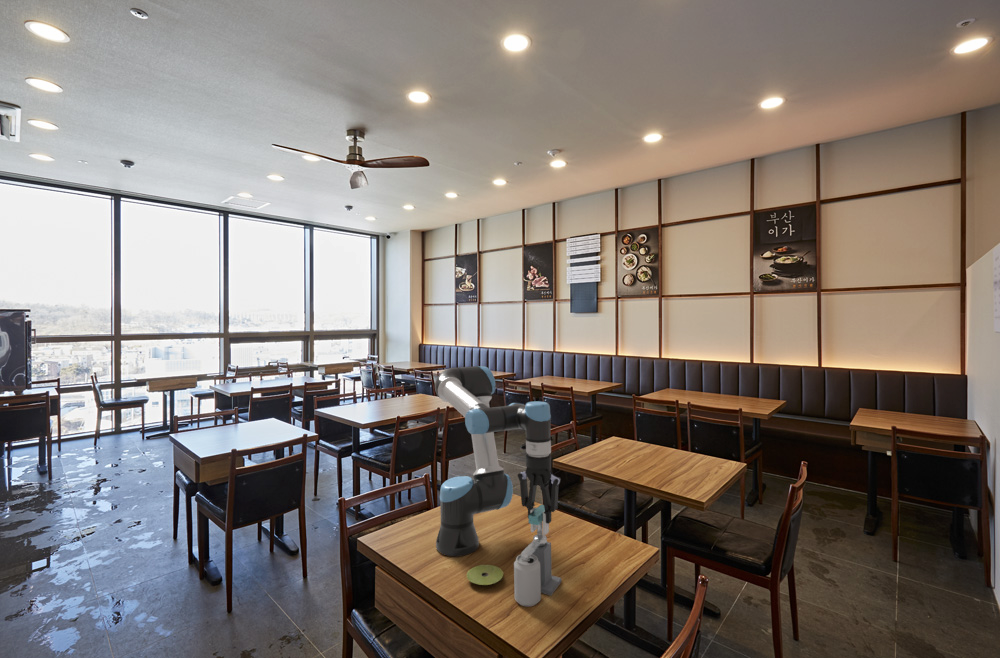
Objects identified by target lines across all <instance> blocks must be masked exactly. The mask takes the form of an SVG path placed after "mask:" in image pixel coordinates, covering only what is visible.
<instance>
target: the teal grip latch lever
mask: <svg viewBox="0 0 1000 658" xmlns="http://www.w3.org/2000/svg"><path fill="white" fill-rule="evenodd" d="M544 511H545V508H544V504H540V505H539V506H537V507H536V509H535V510H534V511H533V512H532V513H530V514H529V515H528V514H527V517H528V516H529V519H528V524H530V525H531V524H534V525H537V529H536V532H537V533H536V534H535V535H533V540H532V542H530V543H529V544H528V545H527V546H526V547H525V548H524V549H523V550H522V551H521V553H520V555H521V557H524V558H529V557H530V556H531V555H532V553H533V552H534V551H535V550H536V549H537V548H538V547H542V546H545V545H546V544H547V542H548V541H547V539H548V538H547V536H546V535H543V512H544Z"/></svg>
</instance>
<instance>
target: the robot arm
mask: <svg viewBox="0 0 1000 658" xmlns="http://www.w3.org/2000/svg"><path fill="white" fill-rule="evenodd" d="M434 382H435V383H434V390H435V393H436V395H437V397H438V398H439V399H440V400H442V401H443V402H446V403H449V405H451V407H453V408H454V409H455V410H457V412H458V413H460V415H461V416H463V417H464V422H465V424H464V425H465V428H466V430H467V432H468V433H469V434H470V435H471V442H472V448H473V449H472V450H473V455H474V456H473V457H474V461H475V468H476V469H475V471H474V472H473V474H472V476H473V478H472V477H471V476H468V475H467V476H465V475H463V476H461V475H458V476H453V477H450V478H448V479H447V480H445V481H444V482H443V483H442V484H441V486H440V491H439V493H440V494H439V501H440V502H439V503H440V506H439V507H440V526H439V530H438V532H437V533H438V534H437V536H436V541H435V549H436V548H437V549H436V551H437V550H438V551H439V552H441V553H442V554H441V553H440V554H441V555H443V554H445V555H444V556H446V555H448V556H447V557H462V556H463V557H464V556H467V555H469V554H472V553H474V552H475V551H477V550H478V548H479V546H480V544H479V543H480V542H479V540H480V538H479V536H478V534H477V530H476V526H475V524H474V516H475V515H476V514H477V515H478V514H480V513H485V512H486V513H487V512H491V511H495V510H500V509H503V508H506V507H508V506H509V505H510V503H511V501H512V499H513V493H514V491H513V490H514V489H513V488H514V487H513V481H512V479H511V476H510V475H509V474H507V473H505V469H504V468H503V467H502V466H501V465H500V463H499V459H498V452H497V451H498V450H497V447H496V446H497V444H496V439H495V432H504V431H512V430H513V431H514V430H523V431H525V453H527V454H526V455H525V462H526V463H525V467H526V469H525V471H521V472H519V473H518V474H517V478H518V479H519V487H520V497H521V506H522V507H525V508H527V518H528V520H529V516H528V515H529V514H530V513H532V512H533V511H534V510H535V509H536V508H537V507H535V506H536V504H535V503H536V502H535V501H536V493H537V488H538V486H539V489H540V490H541V496H542V501H543V505H544V508H545V511H544V512H543V521H542V530H543V535H545V536H546V535H548V533H549V532H550V523H551V522H552V513H554V512H556V510H558V508H559V507H558V506H559V505H558V503H559V485H560V483H561V480H562V479H561V477H559V476H556V475H554V474H553V471H552V455H551V453H552V439H551V438H552V436H551V435H552V434H551V431H552V430H551V427H552V425H551V424H552V423H551V420H552V419H551V418H552V415H551V407H550V406H551V405H550V403H548V402H546V401H535V400H534V401H528V402H526V403H525V404H524V403H521V402H512V403H510V404H508V405H506V406H505V405H504V406H495V407H494V406H493V407H490V401H491V400H492V398H493V396H492V395H494V393H495V391H496V379H495V376H494V374H493V371H491V369H490V368H489V367H487V366H483V365H482V366H481V365H480V366H479V365H474V366H473V365H472V366H463V367H462V366H461V367H460V366H459V367H449V368H446V369H445V370H443V371H442V372H441V373H439V374H438V376H437V377H436V380H435V381H434ZM528 480H529V484H528ZM550 480H551V484H552V485H551V491H550V489H549V487H550V484H549V482H550ZM528 485H529V488H528ZM550 493H551V495H550ZM535 531H537V525H534V524H530V533H534V532H535ZM438 551H437V552H438ZM439 552H438V553H439Z"/></svg>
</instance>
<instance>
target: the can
mask: <svg viewBox="0 0 1000 658" xmlns="http://www.w3.org/2000/svg"><path fill="white" fill-rule="evenodd" d="M513 578H514V579H513V581H514V582H513V583H514V584H513V586H514V599H515V600H514V601H516V602H517V603H518V604H519V605H520V606H522V607H525V608H526V607H528V608H529V607H533V606H536V605H537V604H538V603H539V602H540V601H541V599H542V595H541V594H542V593H541V580H540V562H539V561H538V558H537V556H535V555H533V554H532V555H531V556H530V557H529V558H524V557H521V554H518V555H517V556H516V557H515V561H514V562H513Z"/></svg>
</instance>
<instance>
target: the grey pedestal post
mask: <svg viewBox="0 0 1000 658" xmlns="http://www.w3.org/2000/svg"><path fill="white" fill-rule="evenodd" d="M532 554H533V555H535V556H537V558H538V561H539V562H540V580H541V594H543V595H547V596H553V593H555V591H556V590H557V588H558V587H559V586H560V584H561V583H562V577H559V576H555V575H552V542H549V541H547V544H546V545H545V546H542V547H538V548H537V549H536V550H535V551H534V552H533V553H532Z"/></svg>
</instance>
